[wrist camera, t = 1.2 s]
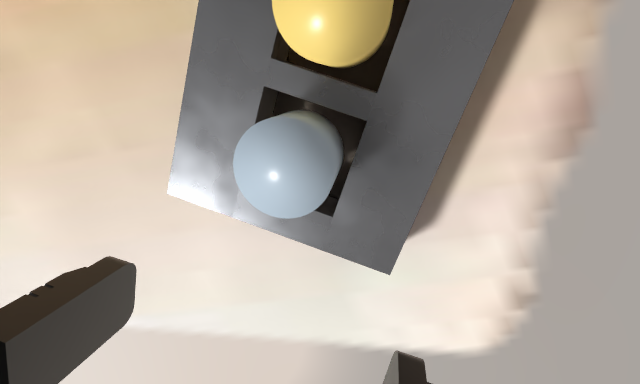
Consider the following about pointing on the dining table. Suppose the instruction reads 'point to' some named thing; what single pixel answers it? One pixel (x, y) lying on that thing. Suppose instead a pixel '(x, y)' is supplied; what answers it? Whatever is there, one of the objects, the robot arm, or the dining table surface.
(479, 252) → the dining table surface
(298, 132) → the button blue
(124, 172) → the dining table surface
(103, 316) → the robot arm
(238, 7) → the panel
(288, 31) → the button mustard
